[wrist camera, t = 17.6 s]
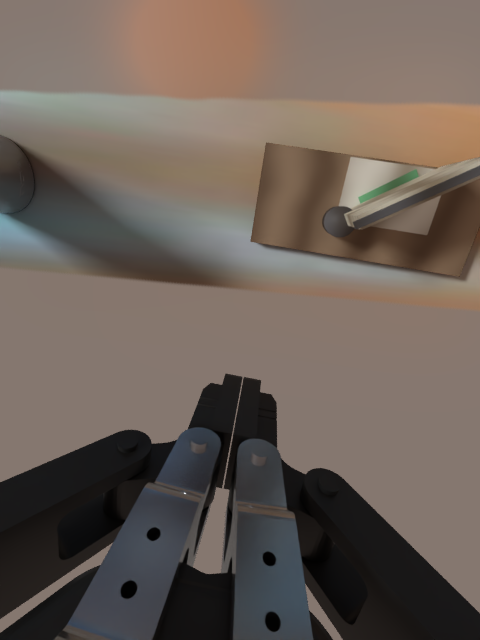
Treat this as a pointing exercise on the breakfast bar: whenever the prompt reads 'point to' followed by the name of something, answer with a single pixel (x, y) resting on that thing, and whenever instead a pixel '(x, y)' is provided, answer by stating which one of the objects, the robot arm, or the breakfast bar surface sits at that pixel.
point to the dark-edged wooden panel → (400, 198)
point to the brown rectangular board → (353, 189)
